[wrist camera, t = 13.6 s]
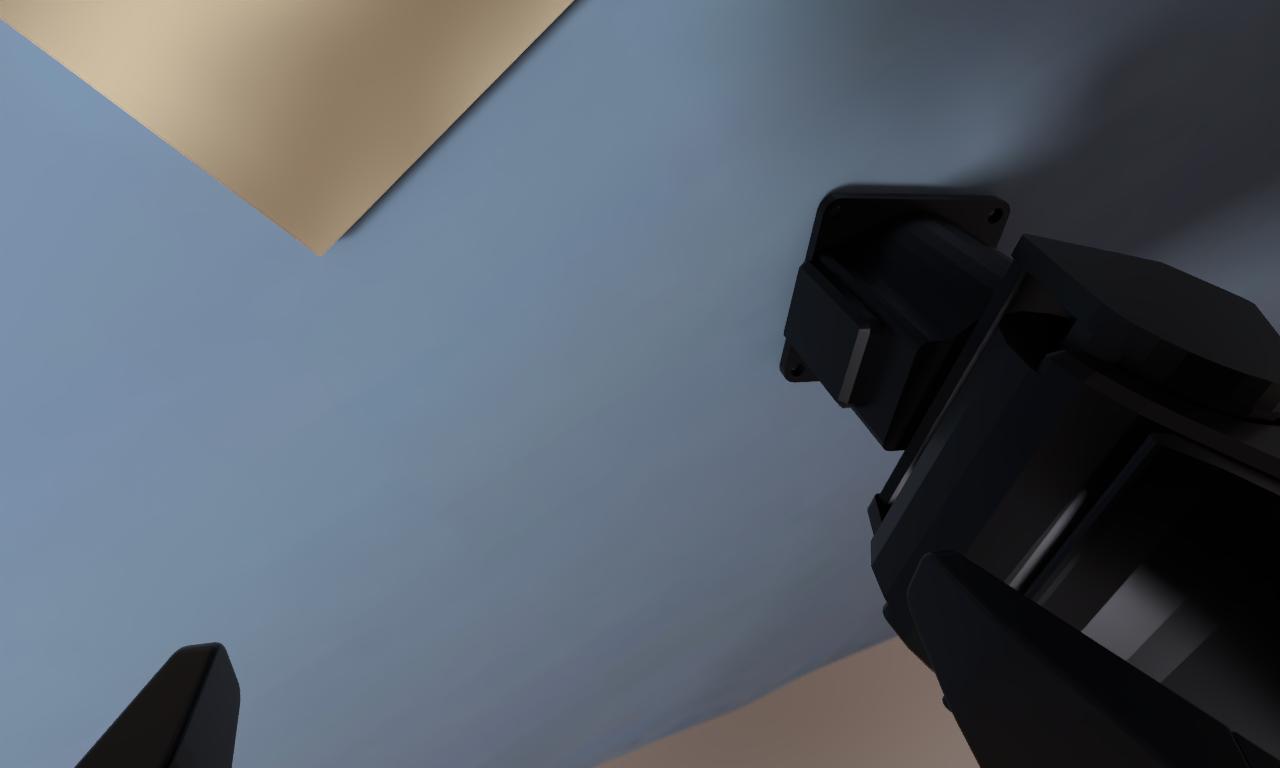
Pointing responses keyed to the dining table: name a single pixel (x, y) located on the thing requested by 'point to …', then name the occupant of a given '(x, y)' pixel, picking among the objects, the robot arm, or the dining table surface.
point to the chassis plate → (291, 86)
